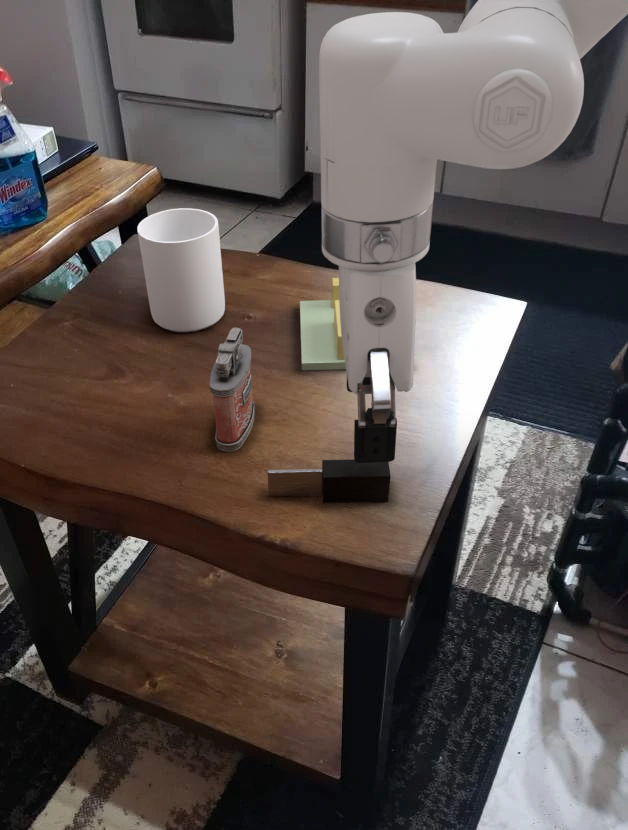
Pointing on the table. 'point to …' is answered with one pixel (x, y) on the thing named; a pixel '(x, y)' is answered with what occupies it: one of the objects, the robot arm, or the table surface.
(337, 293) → the butter pat
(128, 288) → the table surface
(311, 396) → the table surface
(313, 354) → the butter plate
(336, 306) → the butter
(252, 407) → the lighter
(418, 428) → the table surface
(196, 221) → the mug
